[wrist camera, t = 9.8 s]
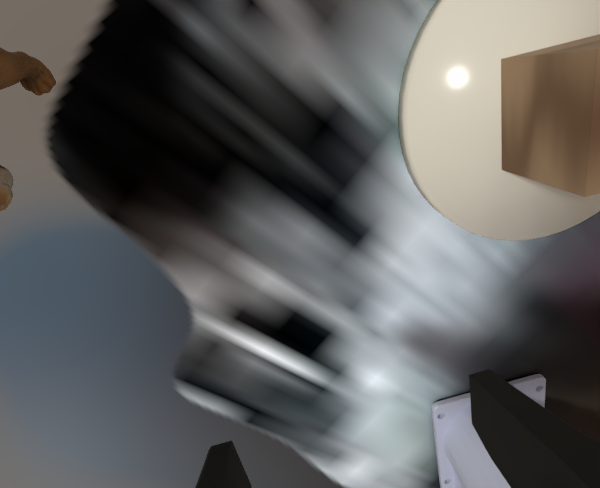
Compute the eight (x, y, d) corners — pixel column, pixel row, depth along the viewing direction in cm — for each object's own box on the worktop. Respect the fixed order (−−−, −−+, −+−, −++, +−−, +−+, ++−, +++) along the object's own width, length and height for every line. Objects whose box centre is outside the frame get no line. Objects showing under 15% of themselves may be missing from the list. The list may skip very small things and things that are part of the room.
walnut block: (597, 144, 19) (711, 163, 14) (501, 169, 19) (584, 197, 14) (608, 31, 17) (746, 11, 12) (501, 59, 16) (598, 49, 12)
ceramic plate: (646, 197, 22) (668, 203, 21) (413, 259, 21) (422, 269, 20) (696, -112, 16) (729, -127, 15) (379, -36, 16) (389, -45, 14)
